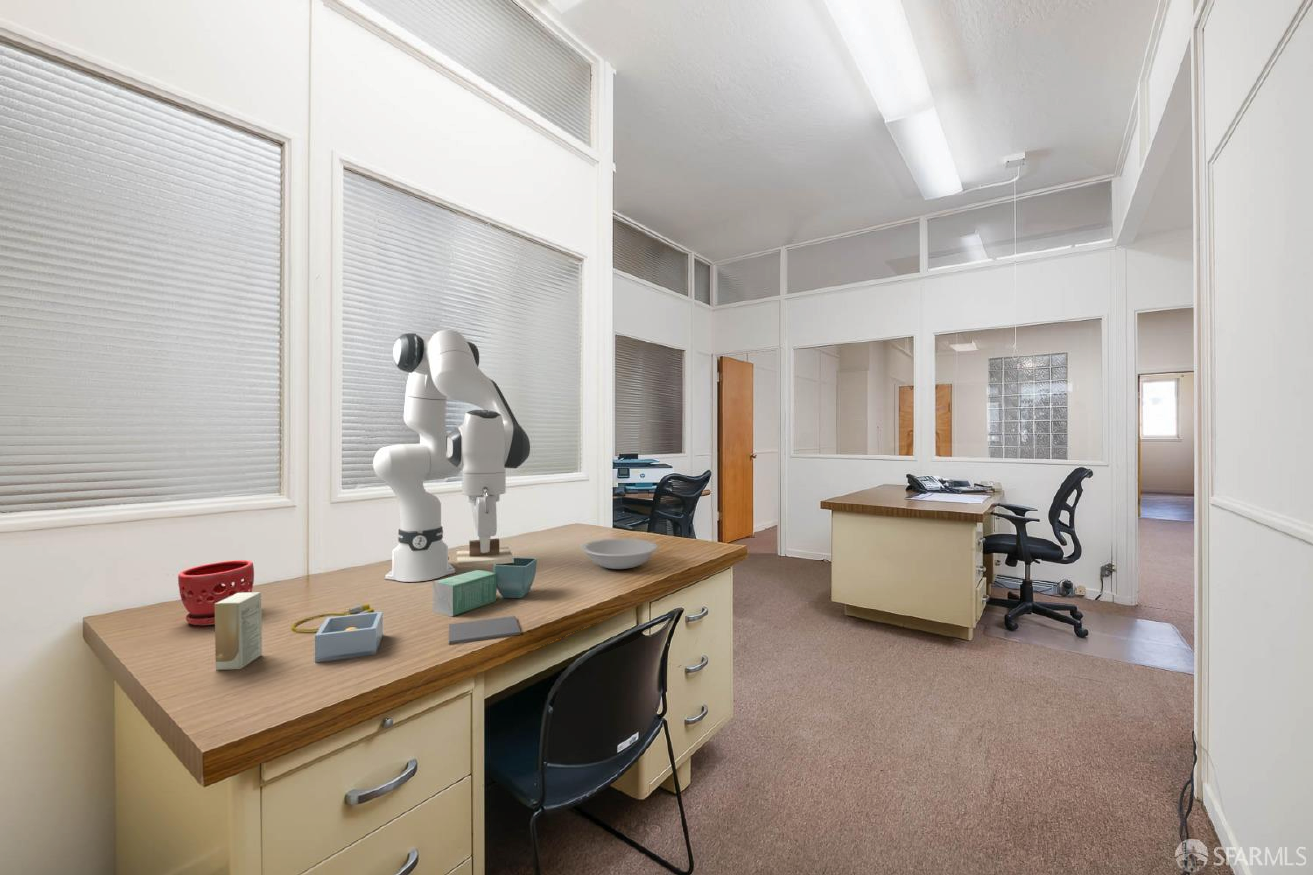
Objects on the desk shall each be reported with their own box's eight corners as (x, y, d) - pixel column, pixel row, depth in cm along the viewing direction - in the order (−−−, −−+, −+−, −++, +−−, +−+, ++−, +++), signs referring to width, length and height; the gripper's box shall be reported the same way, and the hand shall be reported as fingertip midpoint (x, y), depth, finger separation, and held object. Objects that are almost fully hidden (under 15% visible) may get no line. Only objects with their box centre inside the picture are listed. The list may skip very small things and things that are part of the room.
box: (497, 601, 131) (497, 571, 131) (453, 617, 120) (452, 585, 120) (477, 596, 135) (477, 567, 135) (432, 612, 123) (431, 581, 123)
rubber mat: (449, 626, 114) (449, 624, 114) (515, 618, 119) (515, 615, 119) (449, 644, 104) (449, 641, 104) (520, 634, 110) (520, 631, 110)
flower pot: (537, 591, 139) (537, 557, 139) (526, 601, 131) (526, 566, 131) (506, 589, 140) (506, 556, 140) (492, 600, 132) (492, 565, 131)
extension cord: (373, 626, 115) (373, 617, 115) (287, 639, 108) (287, 629, 108) (375, 609, 126) (375, 601, 126) (296, 620, 119) (296, 611, 119)
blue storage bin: (327, 642, 105) (327, 617, 105) (382, 635, 109) (382, 611, 109) (314, 662, 96) (314, 635, 96) (376, 654, 100) (375, 628, 100)
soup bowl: (628, 582, 148) (628, 559, 148) (565, 569, 161) (565, 548, 161) (672, 564, 168) (672, 543, 168) (613, 554, 181) (613, 535, 181)
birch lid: (456, 555, 115) (456, 537, 115) (508, 551, 119) (508, 533, 119) (457, 567, 104) (457, 547, 104) (513, 562, 108) (513, 543, 108)
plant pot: (235, 605, 127) (235, 557, 127) (266, 614, 121) (265, 563, 121) (166, 623, 115) (166, 569, 115) (197, 634, 109) (196, 577, 109)
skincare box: (239, 655, 99) (238, 591, 99) (263, 654, 99) (262, 591, 99) (213, 671, 93) (212, 602, 92) (239, 670, 93) (238, 602, 93)
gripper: (504, 490, 103) (504, 559, 103) (495, 481, 122) (496, 540, 122) (470, 491, 101) (470, 562, 101) (467, 482, 120) (467, 542, 120)
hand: (484, 550), depth 111 cm, fingers closed on birch lid, 2 cm apart
